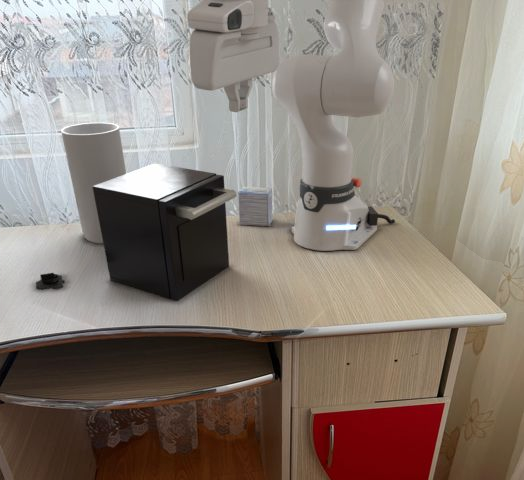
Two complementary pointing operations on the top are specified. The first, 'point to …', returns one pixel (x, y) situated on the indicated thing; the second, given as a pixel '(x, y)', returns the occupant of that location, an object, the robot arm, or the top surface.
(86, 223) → the cylinder vase
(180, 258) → the oven door
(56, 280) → the black irregular piece
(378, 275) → the top surface
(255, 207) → the medicine box
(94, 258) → the top surface
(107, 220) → the oven
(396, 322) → the top surface
